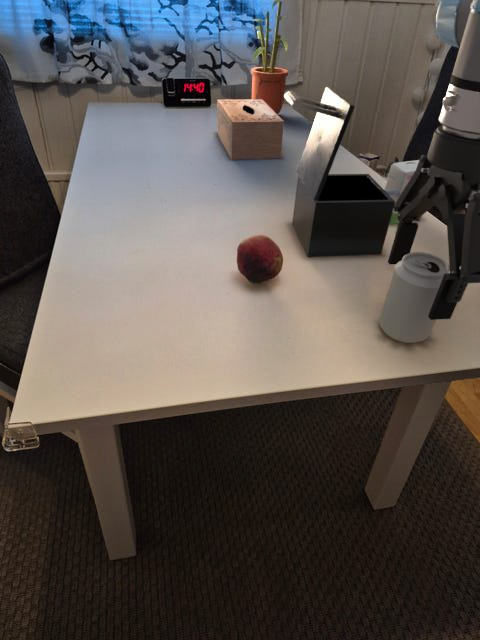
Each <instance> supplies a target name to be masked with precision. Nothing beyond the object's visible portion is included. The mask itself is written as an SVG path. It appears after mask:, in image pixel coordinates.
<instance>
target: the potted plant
mask: <svg viewBox="0 0 480 640" xmlns="http://www.w3.org/2000/svg"><path fill="white" fill-rule="evenodd" d="M282 4H283V1H282V0H274V1H273V3H272V6H271V9H273V8H274V7H275V6H277V12H276V20H275V28H274V39H273V47H272V53H269V39H270V38H269V37H270V33H271V32H272V29H271V28H270V11H269V10H268V11H266V15H265V35H264V29H263V24H262V22H263V21H264V20H263V19H261V18H254V19H253V21H255V22H257V23H259V24H258V25H256V26H255V30H257V29H258V30H257V31H256V33H257V40H260V41H261V42H260V43H261V46H260V47H258V48H256V50H255V51H254V53H253V58H252V61H251V65H253V64H254V62H255V60H256V58H258V56H259V55H260V54H261V55H262V66H258V67H257V66H256V67H252V68H250V73H251V75H252V82H251V99H262V100H263V101H264V102H265V103H266V104H267V105H268V106H269V107H270V108H271V109H272V110H273V111H274V112H275V113H276V114H277V115H279V113H280V112H281V111H282V109H283V105H284V102H285V93H286V81H287V77H288V76H289V70H288V69H285V68H282V67H275V66H276V62H277V61H276V60H277V57H278V51H279V46H280V43H281V44H282V45H283V46H284V47H285V51H288V46H289V44H288V42H287V40H284V39H283V38H282V34H281V33H279V30H280V29H279V28H280V22H281V21H282V18H283V16H282V15H281V13H282V6H283V5H282ZM284 18H285V19H287V18H288V17H287V16H284ZM281 38H282V39H281ZM268 56H270V57H271V58H270V62H269V63H270V64H269V66H268V59H269V57H268Z"/></svg>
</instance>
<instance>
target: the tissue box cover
mask: <svg viewBox="0 0 480 640" xmlns="http://www.w3.org/2000/svg"><path fill="white" fill-rule="evenodd" d="M216 102H217V103H216V108H217V109H216V110H217V111H216V133H217V136H218V138H219V140H220V141H221V143H222V145H223V147H224V148H225V151H226V153H227V155H228V156H229V159H230V160H232V161H235V160H237V161H238V160H265V159H267V160H268V159H282V149H283V136H284V127H285V121H284V119H283V118H281V117H280V116H279V114H276V113H275V112H274V111H273V110H272V109H271V108H270V107H269V106H268V105H267V104H266V103H265V102H264V101H263V100H262V99H252V98H251V99H250V98H249V99H247V98H246V99H245V98H244V99H239V98H238V99H235V98H234V99H217V100H216Z"/></svg>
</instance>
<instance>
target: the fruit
mask: <svg viewBox="0 0 480 640" xmlns="http://www.w3.org/2000/svg"><path fill="white" fill-rule="evenodd" d="M236 265H237V270H238V272H239V274H241V275H242V276H243V277H244V278H245V279H246V280H247V281H248V282H249V283H251V284H258V285H259V284H263V283H265V282H268V281H271V280H272V279H274V278H276V277H277V276H278V275H279V274H280V273H281V271H282V270H283V265H284V256H283V252H282V251H281V248H280V246H279V245H278V244H277V243H276V242H275V241H274V240H273V239H272V238H271V237H269V236H268V235H265V234H256V235H252V236H249V237H248V238H245V239H243V240H242V241H241V242H240V243H239V244H238V246H237V248H236Z"/></svg>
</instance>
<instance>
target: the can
mask: <svg viewBox="0 0 480 640" xmlns="http://www.w3.org/2000/svg"><path fill="white" fill-rule="evenodd" d="M445 273H450V266H449V262H447V261H446V260H444V259H443V258H441V257H439V256H437V255H435V254H433V253H432V254H431V253H428V252H422V251H418V252H417V251H415V252H414V251H413V252H410V253H409V254H406V255H405V256H404V257H403V258H402V261H400V262H398V263H397V264H395V265H394V269H393V272H392V275H391V278H390V282H389V285H388V289H387V292H386V296H385V299H384V302H383V306H382V309H381V313H380V317H379V321H378V323H379V326H380V328H381V329H382V331H383V332H384V334H386V335H387V336H388V337H389V338H391V339H392V340H394V341H397V342H400V343H404V344H414V343H418V342H423V341H425V340H427V339H428V338H429V337H430V335H431V333H432V331H433V328H434V325H435V323H436V320H430V318H429V317H428V315H429V312H430V310H431V307H432V305H433V302H434V299H435V297H436V294H437V292H438V289H439V287H440V284H441V281H442V279H443V276H444V274H445Z"/></svg>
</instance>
